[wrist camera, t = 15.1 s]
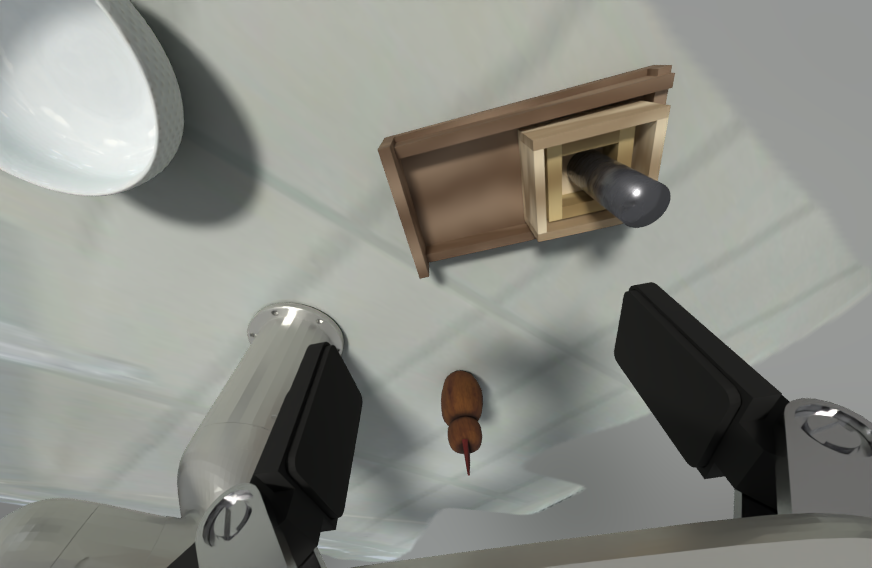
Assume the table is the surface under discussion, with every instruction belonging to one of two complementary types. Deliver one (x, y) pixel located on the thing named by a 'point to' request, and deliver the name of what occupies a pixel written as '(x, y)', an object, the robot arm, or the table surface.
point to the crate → (560, 139)
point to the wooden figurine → (462, 413)
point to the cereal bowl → (85, 96)
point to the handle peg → (619, 188)
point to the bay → (487, 167)
